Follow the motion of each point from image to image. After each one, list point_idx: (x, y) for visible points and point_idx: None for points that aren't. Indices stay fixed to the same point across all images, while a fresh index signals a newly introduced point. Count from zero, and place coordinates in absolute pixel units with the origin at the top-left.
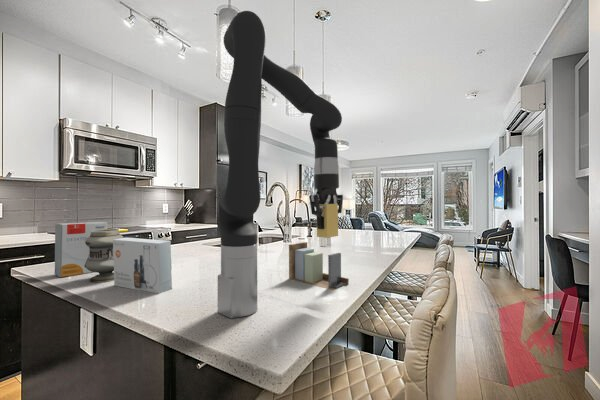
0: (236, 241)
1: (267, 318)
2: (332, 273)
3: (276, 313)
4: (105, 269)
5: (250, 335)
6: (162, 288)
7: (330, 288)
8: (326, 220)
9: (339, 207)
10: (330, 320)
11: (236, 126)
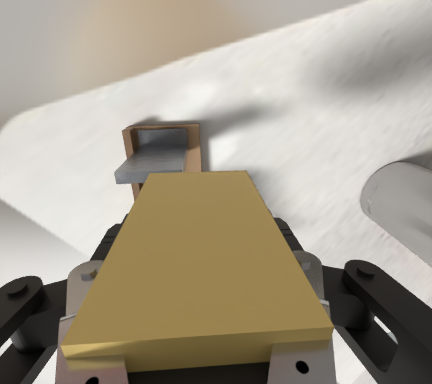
0: None
1: (397, 127)
2: (178, 152)
3: (369, 133)
4: None
5: None
6: (394, 338)
7: (194, 139)
8: (270, 217)
9: (3, 329)
10: (342, 16)
11: None
